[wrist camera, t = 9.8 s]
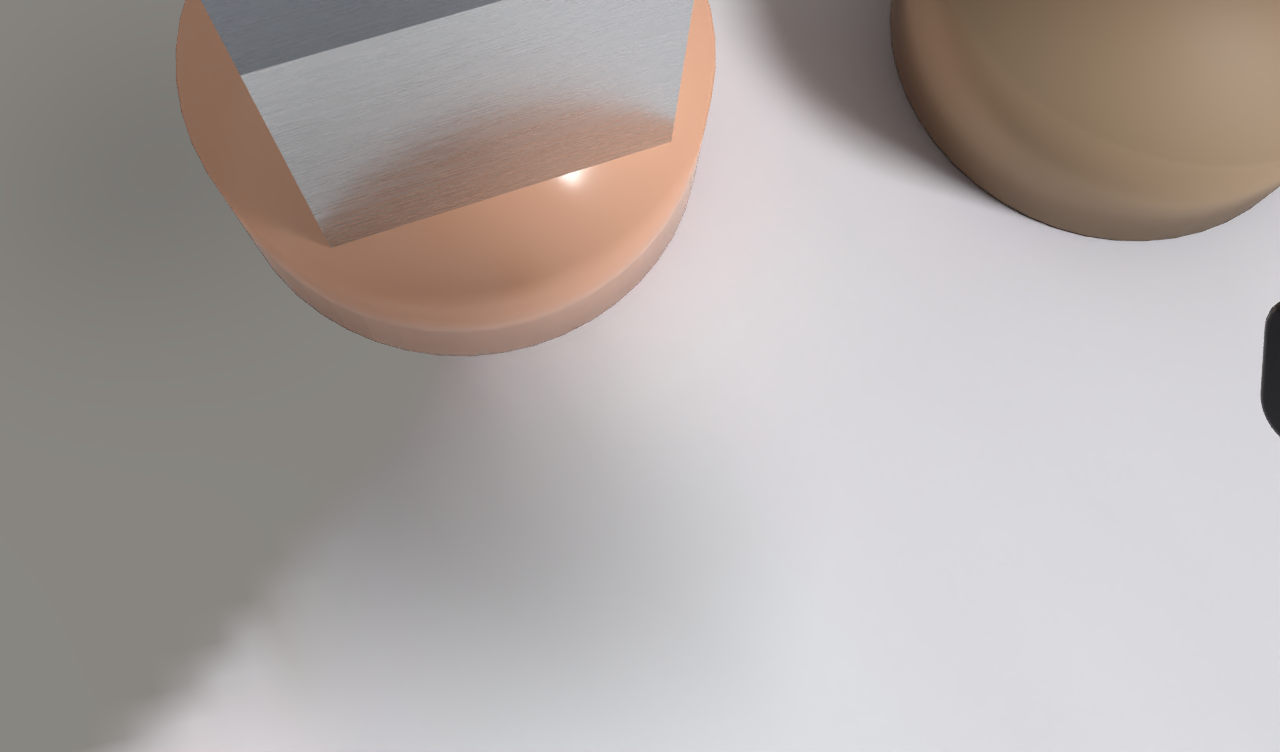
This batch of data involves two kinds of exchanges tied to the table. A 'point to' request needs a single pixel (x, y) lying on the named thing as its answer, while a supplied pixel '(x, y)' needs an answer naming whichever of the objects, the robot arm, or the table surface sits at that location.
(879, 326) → the table surface
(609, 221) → the stand
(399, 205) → the plate
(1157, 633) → the table surface
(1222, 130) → the stand
